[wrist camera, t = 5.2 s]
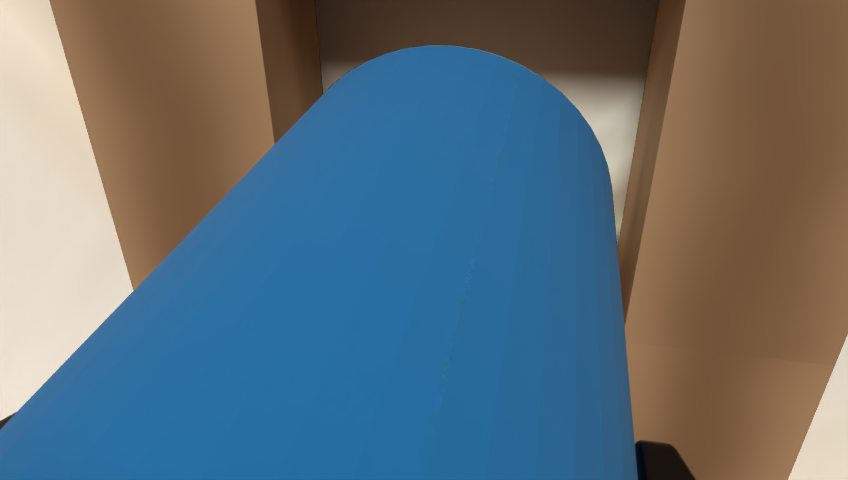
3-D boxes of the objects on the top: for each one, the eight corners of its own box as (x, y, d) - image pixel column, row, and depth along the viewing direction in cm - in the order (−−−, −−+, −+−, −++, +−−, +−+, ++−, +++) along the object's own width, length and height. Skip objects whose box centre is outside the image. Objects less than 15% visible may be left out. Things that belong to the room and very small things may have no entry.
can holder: (1004, -343, 12) (1150, -402, 9) (750, 406, 21) (779, 499, 18) (78, -298, 15) (-47, -330, 12) (218, 339, 24) (168, 410, 21)
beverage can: (419, 348, 17) (175, 1142, 7) (246, 140, 14) (-501, 843, 4) (668, 239, 14) (909, 1352, 4) (498, -40, 12) (-18, 794, 2)
